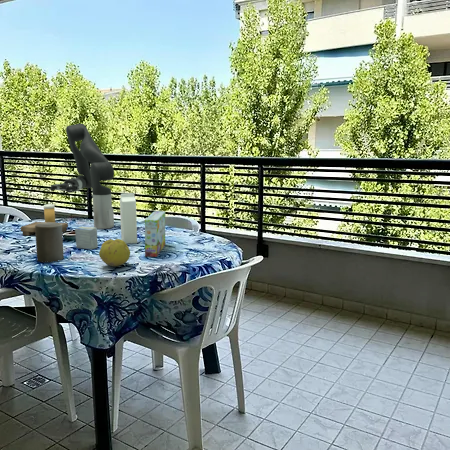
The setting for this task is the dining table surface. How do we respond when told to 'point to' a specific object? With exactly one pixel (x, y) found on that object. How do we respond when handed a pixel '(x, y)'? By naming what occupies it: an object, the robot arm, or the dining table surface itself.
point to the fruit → (114, 252)
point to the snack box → (154, 233)
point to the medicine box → (86, 237)
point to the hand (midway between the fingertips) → (58, 188)
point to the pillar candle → (49, 242)
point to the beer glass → (49, 212)
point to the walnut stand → (30, 228)
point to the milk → (128, 218)
